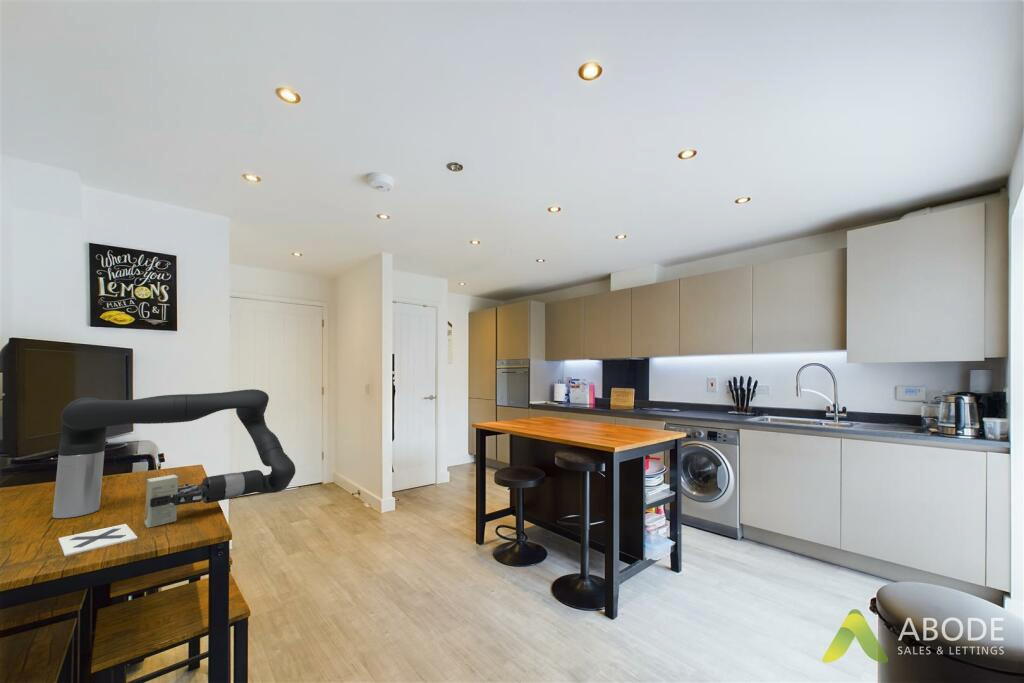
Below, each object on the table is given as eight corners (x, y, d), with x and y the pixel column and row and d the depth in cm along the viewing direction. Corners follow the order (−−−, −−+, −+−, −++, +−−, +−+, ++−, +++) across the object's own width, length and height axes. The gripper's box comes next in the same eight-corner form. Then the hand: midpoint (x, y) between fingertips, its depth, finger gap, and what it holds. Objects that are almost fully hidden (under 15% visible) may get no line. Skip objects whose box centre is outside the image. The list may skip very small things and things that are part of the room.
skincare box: (173, 517, 112) (176, 473, 113) (176, 521, 110) (180, 476, 111) (142, 524, 107) (146, 478, 108) (145, 528, 105) (149, 481, 106)
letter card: (58, 539, 97) (58, 537, 97) (125, 525, 107) (125, 523, 107) (64, 556, 89) (65, 554, 89) (137, 538, 98) (137, 536, 98)
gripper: (216, 470, 125) (143, 482, 111) (232, 478, 116) (155, 491, 103) (214, 495, 124) (140, 509, 111) (231, 504, 116) (153, 521, 102)
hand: (148, 501), depth 107 cm, fingers closed on skincare box, 4 cm apart
